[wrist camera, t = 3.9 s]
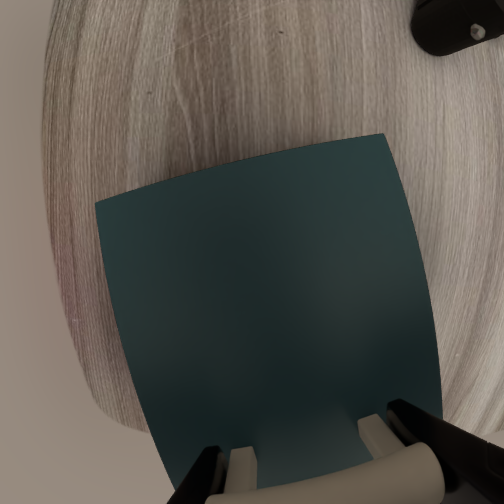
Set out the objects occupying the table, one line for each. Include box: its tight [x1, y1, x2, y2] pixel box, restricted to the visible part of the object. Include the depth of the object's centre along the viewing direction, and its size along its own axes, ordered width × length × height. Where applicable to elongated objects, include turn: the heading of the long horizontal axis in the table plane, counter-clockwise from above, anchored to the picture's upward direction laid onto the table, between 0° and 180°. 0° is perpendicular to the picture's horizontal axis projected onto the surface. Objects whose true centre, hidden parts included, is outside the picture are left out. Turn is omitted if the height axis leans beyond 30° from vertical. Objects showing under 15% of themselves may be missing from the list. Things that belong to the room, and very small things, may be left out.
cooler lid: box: [95, 133, 445, 504], centre depth 7 cm, size 11×10×5 cm
